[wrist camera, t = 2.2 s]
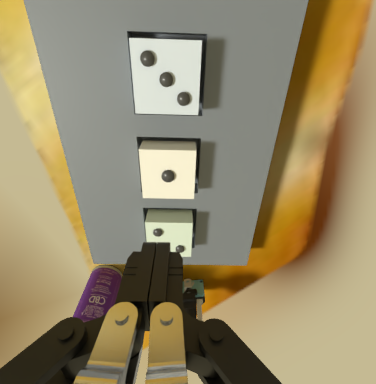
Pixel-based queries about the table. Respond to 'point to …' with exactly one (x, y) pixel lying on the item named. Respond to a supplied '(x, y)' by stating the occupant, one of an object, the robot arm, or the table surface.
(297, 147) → the table surface
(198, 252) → the button board
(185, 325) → the robot arm
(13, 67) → the table surface
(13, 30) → the table surface
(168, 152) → the tile one pip
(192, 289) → the push button
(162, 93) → the tile three pips
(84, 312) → the container
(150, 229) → the tile two pips
